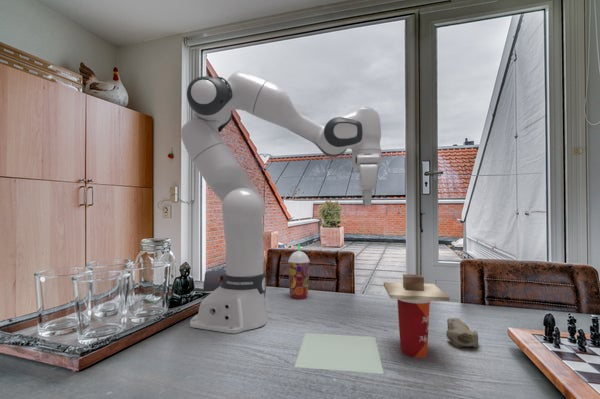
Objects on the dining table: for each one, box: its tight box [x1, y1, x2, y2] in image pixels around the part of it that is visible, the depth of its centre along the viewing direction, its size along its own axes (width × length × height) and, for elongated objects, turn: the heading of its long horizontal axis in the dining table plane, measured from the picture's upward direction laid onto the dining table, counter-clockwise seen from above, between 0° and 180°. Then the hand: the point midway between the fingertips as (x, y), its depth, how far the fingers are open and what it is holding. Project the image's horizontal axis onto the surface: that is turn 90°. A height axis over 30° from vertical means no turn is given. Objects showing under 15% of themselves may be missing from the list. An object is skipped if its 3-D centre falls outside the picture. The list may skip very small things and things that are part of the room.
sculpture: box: [445, 317, 479, 349], centre depth 80 cm, size 7×5×15 cm
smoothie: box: [287, 243, 311, 300], centre depth 118 cm, size 8×8×20 cm
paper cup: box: [396, 299, 432, 359], centre depth 72 cm, size 8×8×14 cm
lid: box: [383, 273, 450, 302], centre depth 72 cm, size 12×12×4 cm
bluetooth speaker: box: [202, 269, 267, 294], centre depth 120 cm, size 23×9×10 cm, turn 94°
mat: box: [294, 332, 384, 375], centre depth 72 cm, size 18×18×1 cm
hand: (366, 206), depth 96 cm, fingers open, 8 cm apart
